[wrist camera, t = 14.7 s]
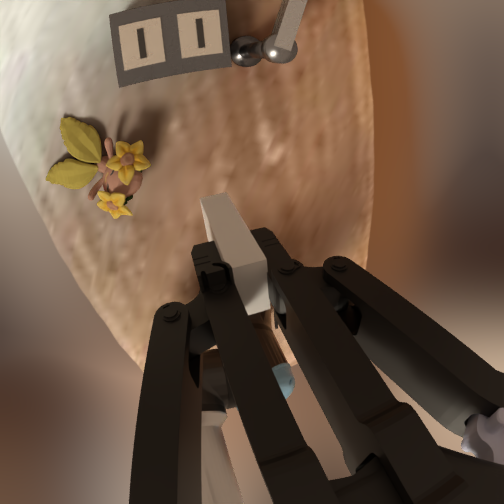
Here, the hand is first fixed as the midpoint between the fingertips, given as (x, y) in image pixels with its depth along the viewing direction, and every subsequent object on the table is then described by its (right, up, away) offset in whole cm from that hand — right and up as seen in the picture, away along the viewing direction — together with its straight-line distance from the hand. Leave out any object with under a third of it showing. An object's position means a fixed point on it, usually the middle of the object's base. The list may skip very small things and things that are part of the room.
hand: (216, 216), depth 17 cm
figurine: (-21, +12, +23) cm, 34 cm away
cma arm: (+7, +29, +7) cm, 30 cm away
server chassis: (-10, +27, +17) cm, 33 cm away
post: (+1, +27, +21) cm, 34 cm away
